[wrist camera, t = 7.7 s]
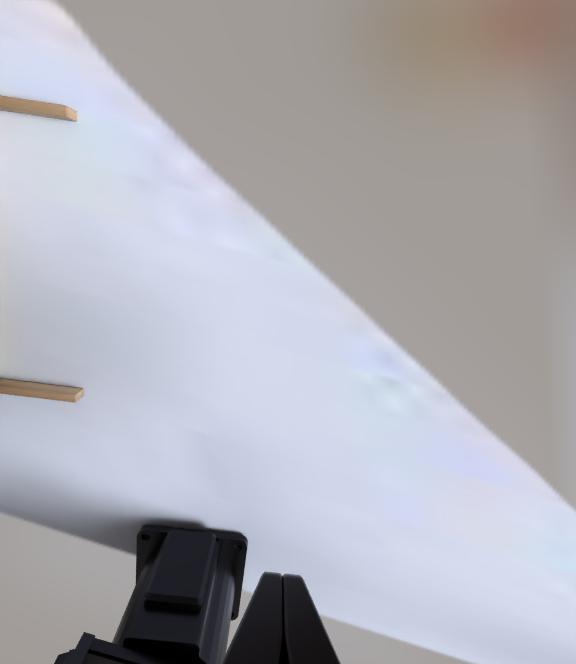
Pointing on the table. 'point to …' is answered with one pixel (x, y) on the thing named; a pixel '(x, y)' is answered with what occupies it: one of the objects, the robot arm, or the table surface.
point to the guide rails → (21, 386)
